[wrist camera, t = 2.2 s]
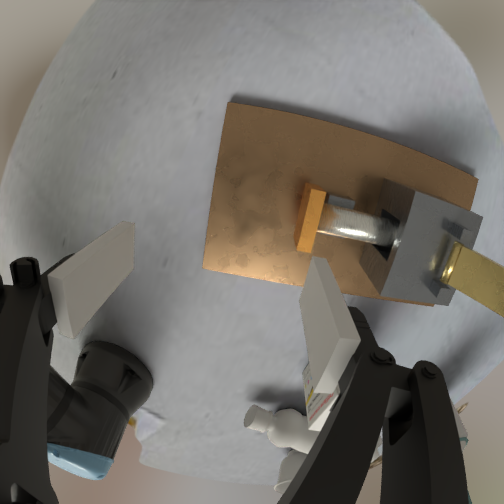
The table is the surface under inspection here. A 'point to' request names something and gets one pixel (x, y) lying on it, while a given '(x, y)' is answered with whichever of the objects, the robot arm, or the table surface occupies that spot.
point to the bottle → (286, 428)
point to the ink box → (317, 402)
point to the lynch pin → (338, 222)
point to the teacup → (289, 469)
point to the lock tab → (475, 277)
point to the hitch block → (339, 194)
